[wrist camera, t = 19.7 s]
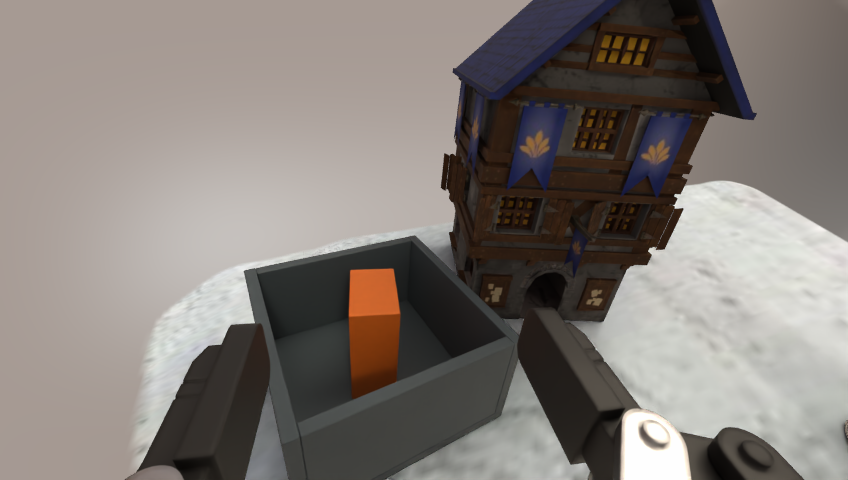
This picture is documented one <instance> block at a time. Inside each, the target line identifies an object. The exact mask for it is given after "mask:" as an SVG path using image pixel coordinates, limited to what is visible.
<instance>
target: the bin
mask: <svg viewBox="0 0 848 480" xmlns="http://www.w3.org/2000/svg"><path fill="white" fill-rule="evenodd" d="M363 269H394V275H395V281H396V288H397V294H398V301H399V307H400V331H399V348H398V365H397V382H395V383H392V384H390V385H387V386H385V387H383V388H380V389H378V390H375V391H373V392H371V393H368V394H366V395H363V396H361V397H358V398H356V399H352V390H351V364H350V337H349V289H350V270H363ZM244 274H245V279H246V283H247V288H248V292H249V297H250V302H251V306H252V311H253V316H254V320H255V323H261V324H262V326H263V329H264V334H265V339H266V344H267V348H268V353H269V358H270V379H269V384H268V385H269V390H270V395H271V399H272V404H273V409H274V413H275V418H276V423H277V427H278V432H279V436H280V441H281V446H282V450H283V455H284V460H285V464H286V469H287V474H288V478H289V480H384V479H385V478H387V477H389V476H391V475H393V474H394V473H396V472H398V471H400V470H402V469H404V468H405V467H407V466H409V465H411V464H413V463H415V462H416V461H418V460H420V459H422V458H424V457H426V456H427V455H429V454H431V453H433V452H435V451H437V450H438V449H440V448H442V447H444V446H446V445H448V444H449V443H451V442H453V441H455V440H457V439H458V438H460V437H462V436H464V435H466V434H468V433H469V432H471V431H473V430H475V429H477V428H479V427H480V426H482V425H484V424H486V423H488V422H490V421H491V420H493V419H495V418H497V417H499V416H501V413H502V410H503V407H504V404H505V400H506V397H507V394H508V391H509V387H510V384H511V381H512V377H513V374H514V371H515V368H516V364H517V361H518V353H517V342H518V339H519V335H518V334H517V333H516V332H515V331H514V330H513V329H512V328H511V327H510V326H509V325H508V324H507V323H506V322H504V321H503V320H502V319H501V318H500V317H499V316H498V315H497V314H496V313H495V312H494V311H493V310H492V309H491V308H490V307H489V306H488V305H487V304H486V303H485V302H484V301H483V300H482V299H481V298H480V297H479V296H477V295H476V294H475V293H474V292H473V291H472V290H471V289H470V288H469V287H468V286H467V285H466V284H465V283H464V282H463V281H462V280H461V279H460V278H459V277H458V276H457V275H456V274H455V273H454V272H453V271H452V270H451V269H449V268H448V267H447V266H446V265H445V264H444V263H443V262H442V261H441V260H440V259H439V258H438V257H437V256H436V255H435V254H434V253H433V252H432V251H431V250H430V249H429V248H428V247H427V246H426V245H425V244H424V243H422V242H421V241H420V240H419V239H418V238H417V237H416V236H410V237H405V238H400V239H396V240H391V241H386V242H381V243H376V244H371V245H367V246H362V247H357V248H352V249H347V250H342V251H337V252H333V253H328V254H323V255H318V256H313V257H308V258H303V259H299V260H294V261H289V262H284V263H279V264H274V265H269V266H265V267H260V268H256V269H255V268H254V269H249V270H245V271H244Z"/></svg>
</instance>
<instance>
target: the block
mask: <svg viewBox="0 0 848 480" xmlns="http://www.w3.org/2000/svg"><path fill="white" fill-rule="evenodd" d="M399 331H400V307H399V301H398V294H397V288H396V281H395V275H394V269H363V270H350V289H349V337H350V364H351V390H352V399H356V398H358V397H361V396H363V395H366V394H368V393H371V392H373V391H375V390H378V389H380V388H383V387H385V386H387V385H390V384H392V383H395V382H397V365H398V348H399Z"/></svg>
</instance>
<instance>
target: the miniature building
mask: <svg viewBox="0 0 848 480" xmlns="http://www.w3.org/2000/svg"><path fill="white" fill-rule="evenodd" d="M453 73H454V74H455V75H457V76H458V77H459V79H460V80H461V88H460V96H459V104H458V111H457V119H456V127H455V135H454V137H455V136H456V140H455V143H456V145H457V150H456V156H455V155H454V154H451V155H450V156H449V155H447V154H444V163H443V173H442V182H441V188H442V189H443V190H446V189H448V190H449V193H450V196H449V199H450V200H451V202H453V203H454V206H455V210H456V212H455V219H454V226H453V232H449V235H450V240H451V247H452V251H453V256H454V260H455V264H456V269H457V273H458V277H459V278H460V279H461V280H462V281H463V282H464V283H465V284H466V285H467V286H468V287H469V288H470V289H471V290H472V291H473V292H474V293H475V294H476V295H477V296H479V297H480V298H481V299H482V300H483V301H484V302H485V303H486V304H487V305H488V306H489V307H490V308H491V309H492V310H493V311H494V312H495V313H496V314H497V315H498V316H499V317H500V318H508V319H519V318H525V314H526V312H527V310H528V309H531V308H549V307H552V308H554V309H555V310H556V311H557V312H558V314H559V315H560V316H561V318H562V319H563V320H582V321H604V319H605V317H606V315H607V313H608V310H609V308H610V306H611V304H612V301H613V299H614V297H615V295H616V292H617V290H618V288H619V286H620V283H621V281H622V279H623V277H624V274H625V272H626V270H627V269H629V267H630V266H634V265H647V264H648V262H649V260H650V258H651V256H652V255H651V254H650V253H649V252H648V250H649V248H652V247H657V248H656V250H663V249H665V247H666V245H667V243H668V241H669V239H670V237H671V235H672V233H673V231H674V228H675V226H676V224H677V222H678V220H679V218H680V216H681V213H682V211H683V209H684V208H681V209H674V208H675V206H673V205H675V203H676V201H677V199H678V198H676V197H674V195H675V194H681V192H682V190H683V188H684V186H685V184H686V182H687V179H685V178H683V177H682V175H683V174H689V173H690V171H691V169H692V167H693V166H692V165H690V164H688V162H689V160H690V158H691V155H692V154H693V151H694V149H695V147H696V145H697V143H698V141H699V139H700V136H701V134H702V132H703V130H704V128H705V126H706V124H707V121H708V119H709V117H710V116H714V114H712V112H716V113H720V114H724V115H728V116H732V117H736V118H741V119H748V120H754V118H755V116H756V113H753V112H752V109H751V106H750V103H749V100H748V98H747V95H746V92H745V90H744V87H743V84H742V81H741V79H740V76H739V73H738V70H737V68H736V65H735V62H734V59H733V57H732V54H731V51H730V48H729V46H728V43H727V40H726V37H725V35H724V32H723V30H722V26H721V24H720V21H719V18H718V16H717V13H716V10H715V7H714V4H713V2H712V0H533V1H532V2H530V3H529V4H528V5H527V6H526V7H525V8H524V9H522V10H521V11H520V12H519V13H518V14H517V15H516V16H515V17H513V18H512V19H511V20H510V21H509V22H508V23H507V24H506V25H504V26H503V27H502V28H501V29H500V30H499V31H498V32H496V33H495V34H494V35H493V36H492V37H491V38H490V39H489V40H488V41H486V42H485V43H484V44H483V45H482V46H481V47H479V49H477V50H476V51H475V52H474V53H473V54H472V55H470V56H469V57H468V58H467V59H466V60H465V61H464V62H463V63H461V64H460V65H459V66H458V67H457V68H453ZM463 81H464V82H463ZM449 158H450V161H449ZM448 166H449V170H448ZM447 174H448V179H447ZM446 183H447V187H446ZM672 213H673V214H672ZM671 215H672V216H671ZM670 217H671V218H670ZM669 219H670V220H669ZM668 221H669V222H668ZM667 223H668V224H667ZM665 228H666V229H665ZM664 230H665V231H664ZM663 232H664V233H663ZM662 234H663V235H662ZM661 236H662V237H661ZM660 238H661V239H660ZM659 240H660V242H659ZM658 243H659V244H658ZM657 245H658V246H657Z"/></svg>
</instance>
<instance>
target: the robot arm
mask: <svg viewBox="0 0 848 480" xmlns="http://www.w3.org/2000/svg"><path fill="white" fill-rule="evenodd" d="M517 353H518V358H519V361H520V363H521V365H522V367H523V369H524V371H525V373H526V375H527V377H528V379H529V381H530V383H531V385H532V387H533V389H534V391H535V393H536V396H537V398H538V400H539V402H540V404H541V406H542V408H543V410H544V412H545V414H546V416H547V418H548V420H549V422H550V424H551V426H552V428H553V430H554V432H555V434H556V436H557V438H558V440H559V442H560V444H561V446H562V448H563V450H564V452H565V454H566V456H567V458H568V460H569V462H570V464H571V465H572V464H579V463H586V464H587V466H588V468H589V469H590V471H591V472H590V474H589V476H588V480H804V479H803V478H802V477H801V476H800V475H799V474H798V473H797V472H796V471H795V469H794V468H793V467H792V466H791V465H790V464H789V463H788V462H787V461H786V460H785V459H784V458H783V457H782V456H781V455H780V454H779V453H778V452H777V451H776V450H775V449H774V448H773V447H772V446H771V445H769V444H768V443H767V442H765V441H764V440H762V439H761V438H759V437H758V436H756V435H754V434H752V433H750V432H747V431H745V430H742V429H739V428H731V427H729V428H724V429H722V430H721V431H720V432H719V433H718V435H717V436H716V437H715V438H714V439H711V438H706V437H702V436H697V435H692V434H687V433H682V432H678V430H677V429H676V428H675V427H674V426H673V425H672V424H671V423H669V422H668V421H667V420H666V419H664V418H663V417H661V416H659V415H658V414H656V413H654V412H651V411H648V410H645V409H641V408H640V407H639V405H638V404H637V403H636V401H635V400H634V399H633V397H632V396H631V395H630V394H629V392H628V391H627V390H626V388H625V387H624V386H623V384H622V383H621V382H620V380H619V379H618V378H617V376H616V375H615V374H614V372H613V371H612V370H611V368H610V367H609V366H608V364H607V363H606V362H604V361H603V358H602V356H601V355H600V354H599V352H598V351H596V350H595V347H594V346H593V344H592V343H591V342H590V340H589V339H588V338H587V336H586V335H585V334H584V333H583V332H581V331H580V330H579V329H577V328H576V327H575V326H574V325H572V324H571V323H565V322H564V321H563V319H562V318H561V316H560V315H559V314H558V312H557V311H556V310H555V309H554V308H552V307H549V308H531V309H528V310H527V312H526V314H525V318H524V321H523V325H522V328H521V332H520V335H519V339H518V342H517ZM269 379H270V358H269V353H268V348H267V344H266V339H265V334H264V329H263V326H262V324H261V323H254V324H236V325H231V326H230V327H229V329H228V331H227V333H226V335H225V338H224V340H223V342H222V345H212V346H208V347H207V348H206V349H205V350H204V351H203V352H202V353H201V354H200V355H199V356H198V357H197V358H196V359H195V360H194V361H193V362H192V364H191V366H190V368H189V370H188V372H187V374H186V376H185V378H184V380H183V384H181V386H180V388H179V390H178V392H177V394H176V399H175V400H173V402H172V404H171V406H170V408H169V410H168V412H167V414H166V416H165V418H164V420H163V422H162V424H161V426H160V428H159V430H158V432H157V434H156V436H155V438H154V440H153V442H152V444H151V446H150V448H149V450H148V452H147V454H146V456H145V458H144V460H143V462H142V464H141V466H140V467H139V469H138V470H137V472H136V473H134V474H133V475H131V476H129V477H128V478H126V479H125V480H245V477H246V473H247V469H248V465H249V461H250V456H251V452H252V448H253V444H254V440H255V436H256V432H257V428H258V424H259V420H260V416H261V412H262V408H263V404H264V400H265V396H266V392H267V388H268V384H269ZM845 432H846V435H847V438H848V419H847V421H846V423H845Z"/></svg>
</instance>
